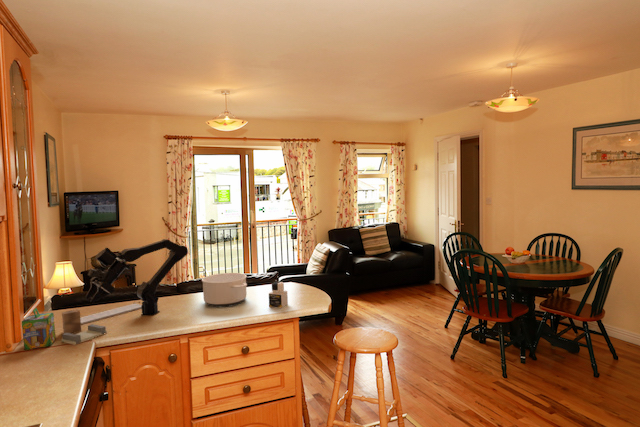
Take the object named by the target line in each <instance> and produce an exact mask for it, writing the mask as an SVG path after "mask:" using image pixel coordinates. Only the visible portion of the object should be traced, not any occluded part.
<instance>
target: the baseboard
mask: <svg viewBox="0 0 640 427" xmlns="http://www.w3.org/2000/svg"><path fill="white" fill-rule="evenodd" d="M135 302H136V301H135V300H134V302H133V303H131V304H128V305H123V306H120V307H115V308H112V309H109V310H105V311H100V312H97V313H93V314H89V315H85V316H82V317H81V316H80V320H81V326H82V325H85V324H89V323H90V324H91V323H92V322H93V323H94V322H96V321H100V319H101V320H104V319H108V318H111V317H115V315H116V316H119V315H123V314H126V313H130V312H133V311H137V310H142V303H141V301H138V303H137V302H136V303H135Z"/></svg>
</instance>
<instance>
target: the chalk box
mask: <svg viewBox="0 0 640 427" xmlns="http://www.w3.org/2000/svg"><path fill="white" fill-rule="evenodd" d="M32 313H33V315H27V316H26V317H25V318H24V319H23V320H22V321H21V328H22V329H21V330H22V338H23V347H24V351H27V350H33V349H39V348H44V347H51V346H52V345H53V344H54V342H55V341H56V339H57V337H56V336H57V335H56V324H55V315H54V314H55V313H54V312H47V313H46V312H45V313H40V311H39V310H38V308H37V307H35V308H34V309H33V310H32Z"/></svg>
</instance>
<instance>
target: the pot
mask: <svg viewBox="0 0 640 427" xmlns="http://www.w3.org/2000/svg"><path fill="white" fill-rule="evenodd" d="M247 277H248V276H247V274H245V273H241V272H224V273H215V274H211V275H206V276H204V277H202V279H201V282H202V291H203V294H202V295H203V301H204V302H205V304H206V305H207V306H210V307H213V308H227V307H233V306H237V305H239V304H242V303H243V302H244V301H245V300H246V298H247V295H248V294H247V292H248V291H247V286H248V283H247Z"/></svg>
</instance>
